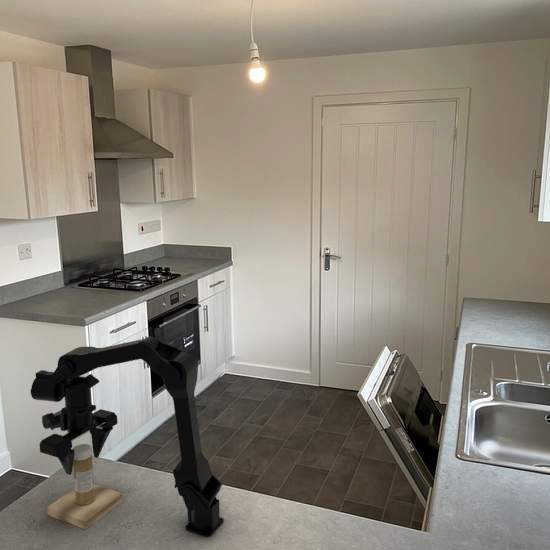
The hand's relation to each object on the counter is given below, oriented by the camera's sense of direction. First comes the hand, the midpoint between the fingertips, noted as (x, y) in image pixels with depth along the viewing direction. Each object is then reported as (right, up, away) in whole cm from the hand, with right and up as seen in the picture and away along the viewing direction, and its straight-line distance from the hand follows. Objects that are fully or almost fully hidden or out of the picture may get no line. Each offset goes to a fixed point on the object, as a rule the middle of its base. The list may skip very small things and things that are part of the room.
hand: (83, 465), depth 127 cm
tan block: (0, -11, +2) cm, 11 cm away
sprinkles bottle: (0, -9, +2) cm, 9 cm away
